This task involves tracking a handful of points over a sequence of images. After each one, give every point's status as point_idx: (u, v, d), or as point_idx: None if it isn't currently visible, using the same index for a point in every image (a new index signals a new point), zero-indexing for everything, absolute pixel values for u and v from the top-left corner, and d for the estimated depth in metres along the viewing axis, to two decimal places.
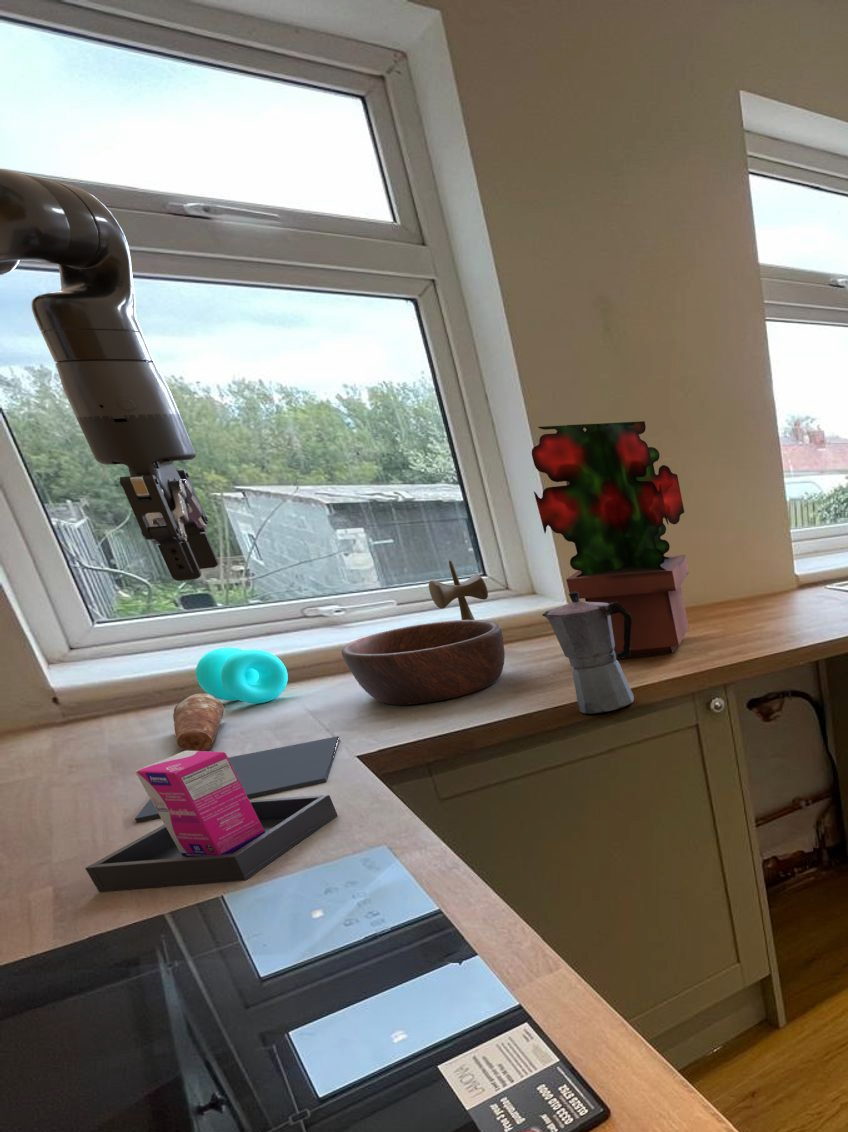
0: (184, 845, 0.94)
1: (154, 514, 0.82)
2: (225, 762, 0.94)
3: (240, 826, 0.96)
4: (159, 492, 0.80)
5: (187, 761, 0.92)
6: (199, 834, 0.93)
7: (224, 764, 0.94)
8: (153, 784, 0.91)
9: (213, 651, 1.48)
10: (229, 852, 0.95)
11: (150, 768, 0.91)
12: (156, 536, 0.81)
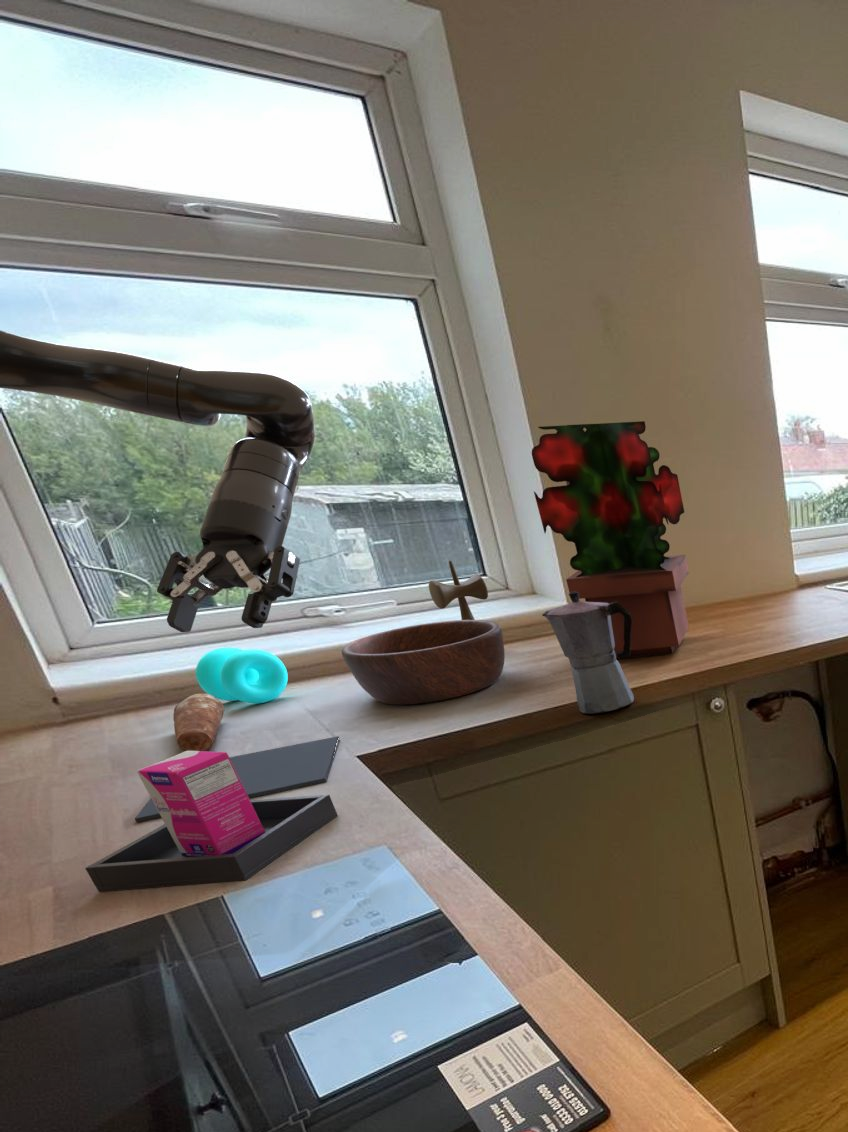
0: (184, 845, 0.94)
1: (257, 576, 1.00)
2: (227, 762, 0.95)
3: (241, 827, 0.96)
4: None
5: (189, 761, 0.92)
6: (200, 834, 0.93)
7: (226, 764, 0.94)
8: (155, 784, 0.91)
9: (213, 651, 1.48)
10: (229, 852, 0.95)
11: (152, 768, 0.91)
12: (280, 588, 0.99)
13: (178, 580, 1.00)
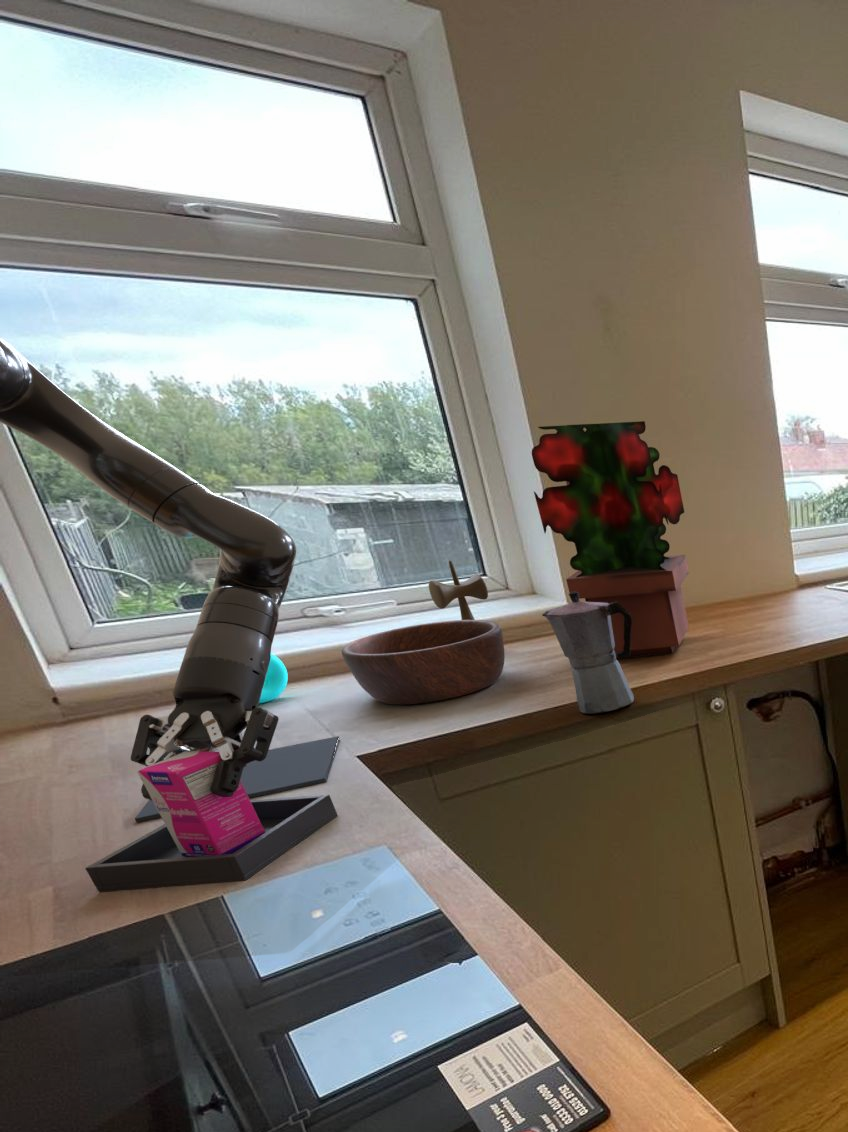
0: (184, 845, 0.94)
1: (231, 739, 0.95)
2: None
3: (241, 827, 0.96)
4: None
5: (189, 761, 0.92)
6: (200, 833, 0.93)
7: None
8: (155, 784, 0.91)
9: None
10: (229, 852, 0.95)
11: (152, 768, 0.91)
12: (252, 754, 0.95)
13: (151, 745, 0.95)
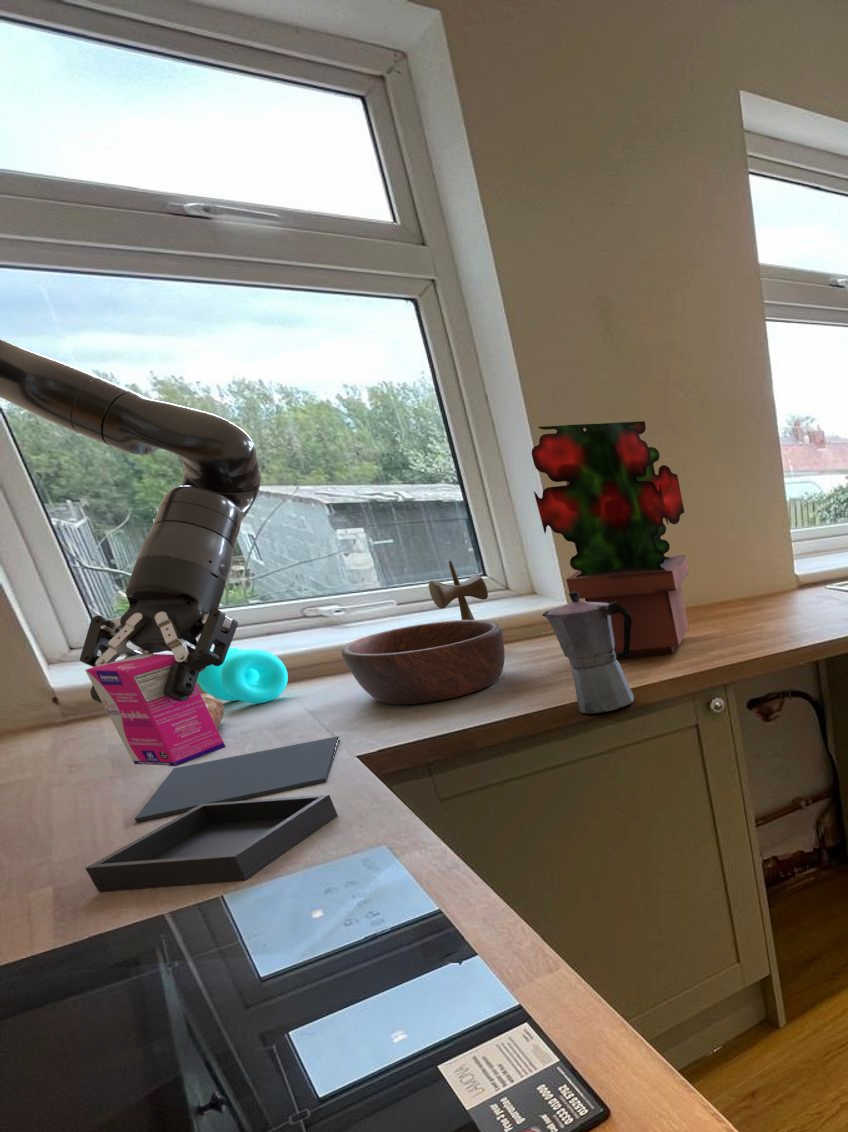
0: (137, 752, 0.90)
1: (186, 642, 0.90)
2: None
3: (197, 735, 0.92)
4: None
5: (141, 662, 0.88)
6: (153, 739, 0.89)
7: None
8: (104, 684, 0.86)
9: None
10: (184, 761, 0.91)
11: (101, 667, 0.86)
12: (209, 657, 0.90)
13: (103, 647, 0.90)
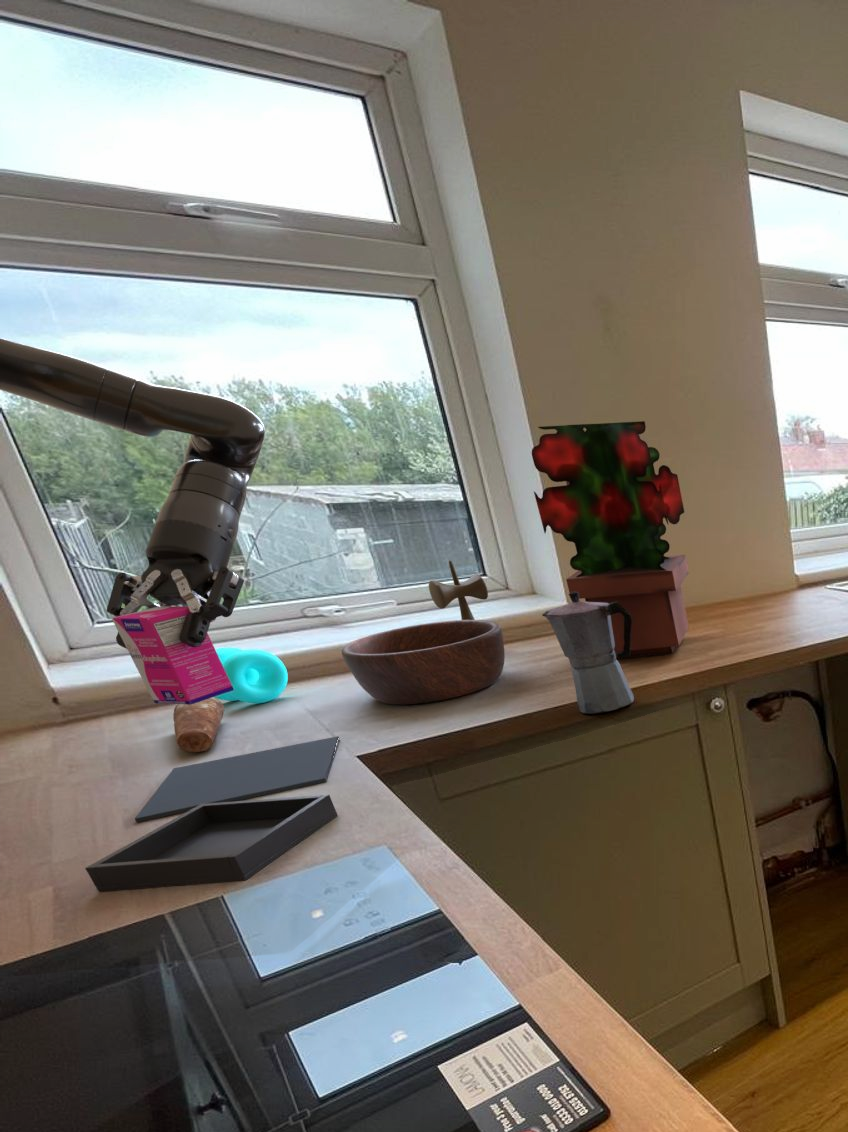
0: (156, 692, 1.02)
1: (199, 596, 1.03)
2: None
3: (209, 678, 1.04)
4: None
5: (159, 612, 1.00)
6: (170, 680, 1.01)
7: None
8: (128, 630, 0.99)
9: None
10: (198, 700, 1.03)
11: (125, 616, 0.99)
12: (219, 608, 1.03)
13: (126, 600, 1.03)
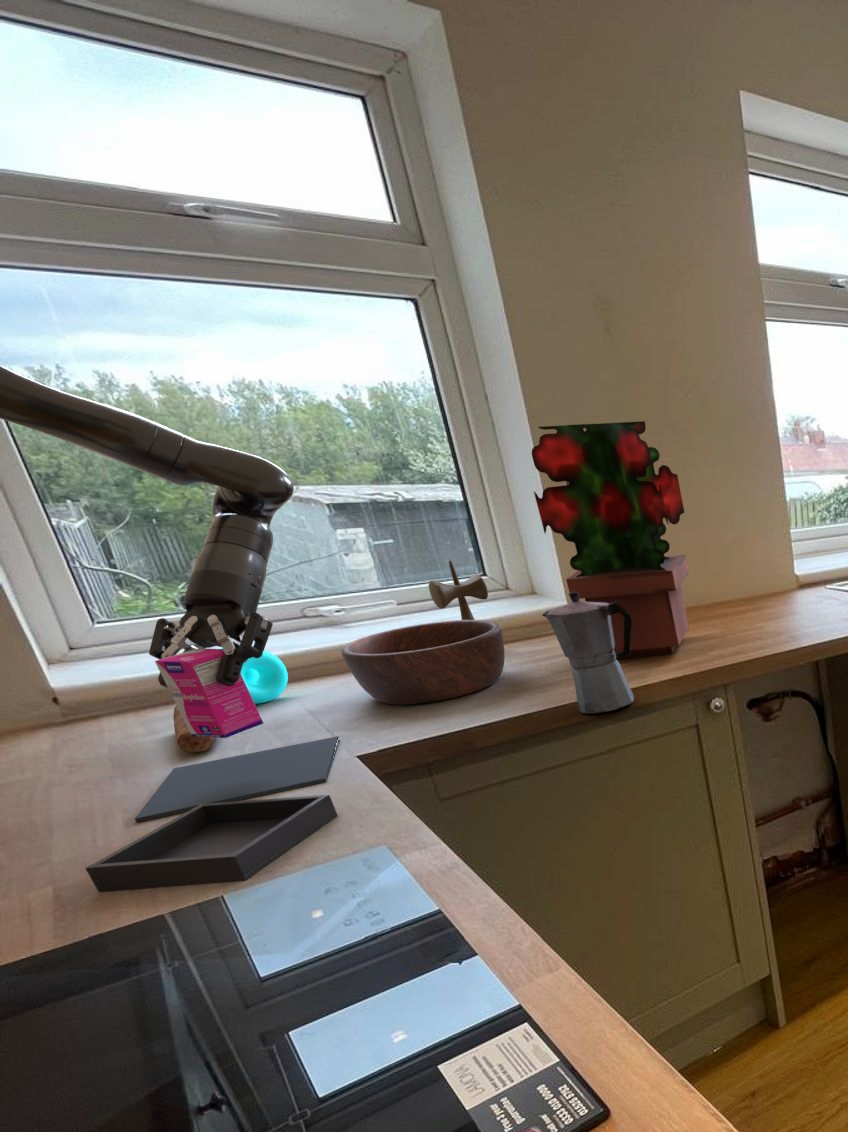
0: (194, 727, 1.13)
1: (232, 639, 1.13)
2: None
3: (241, 713, 1.15)
4: None
5: (198, 655, 1.11)
6: (207, 716, 1.12)
7: None
8: (170, 672, 1.09)
9: None
10: (232, 733, 1.14)
11: (167, 659, 1.09)
12: (251, 651, 1.13)
13: (166, 643, 1.13)
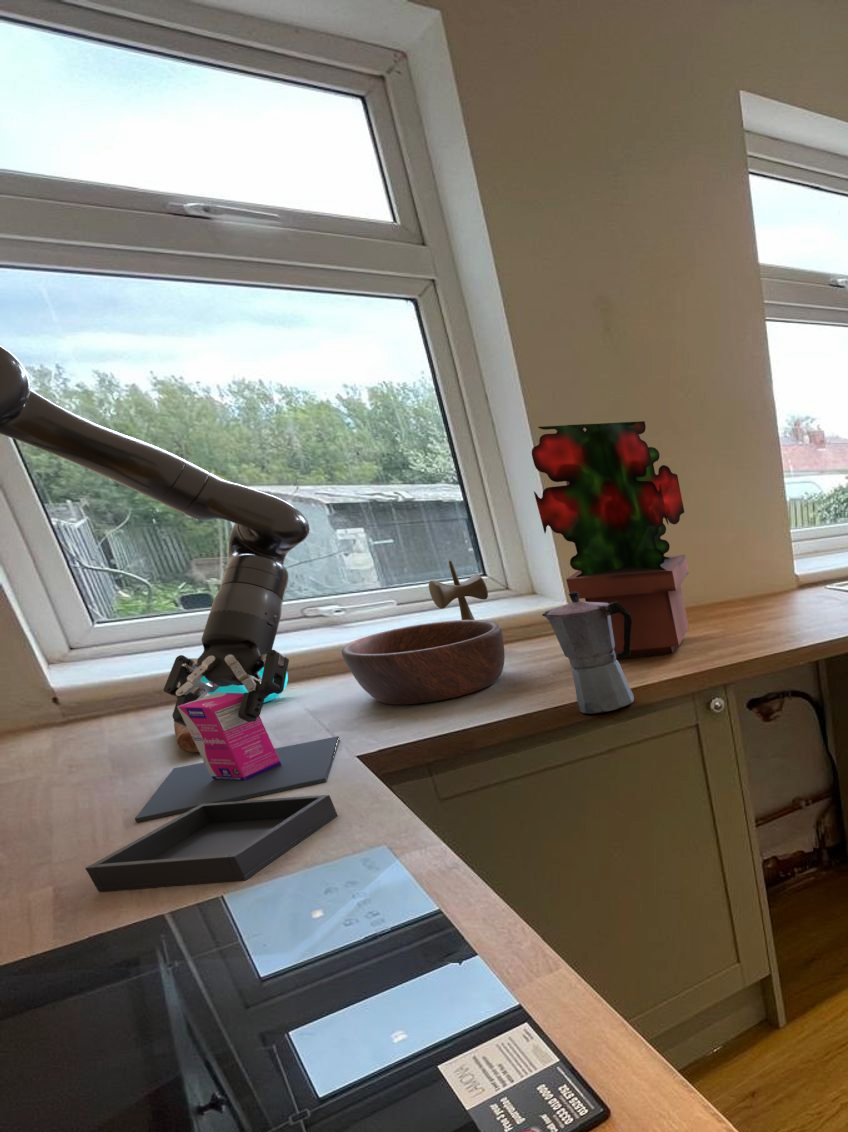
0: (215, 769, 1.15)
1: (252, 676, 1.16)
2: None
3: (261, 756, 1.17)
4: None
5: (219, 700, 1.13)
6: (228, 759, 1.14)
7: None
8: (191, 717, 1.12)
9: None
10: (251, 776, 1.16)
11: (189, 704, 1.12)
12: (272, 687, 1.15)
13: (182, 680, 1.16)
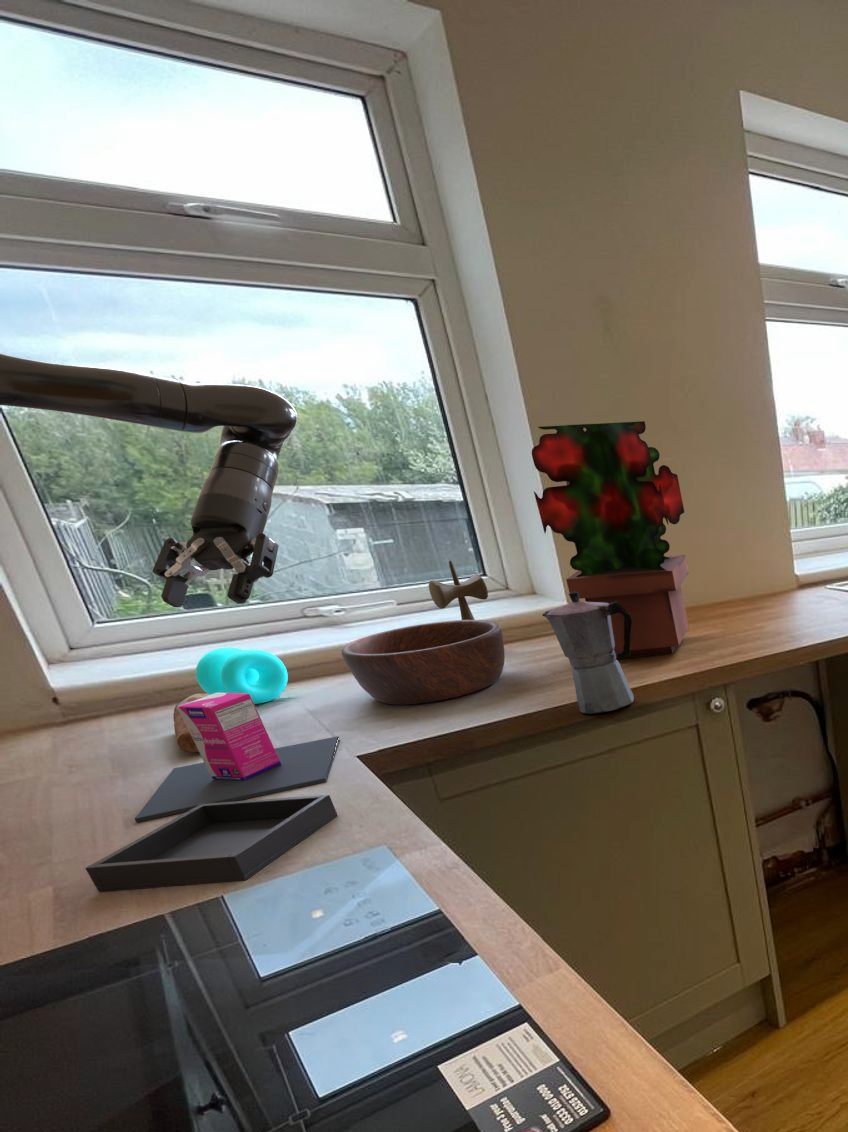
0: (215, 769, 1.15)
1: (241, 559, 1.15)
2: (249, 702, 1.16)
3: (261, 756, 1.17)
4: None
5: (219, 700, 1.13)
6: (228, 759, 1.14)
7: (248, 703, 1.16)
8: (191, 717, 1.12)
9: (213, 651, 1.48)
10: (251, 776, 1.16)
11: (189, 704, 1.12)
12: (261, 569, 1.15)
13: (171, 563, 1.15)
